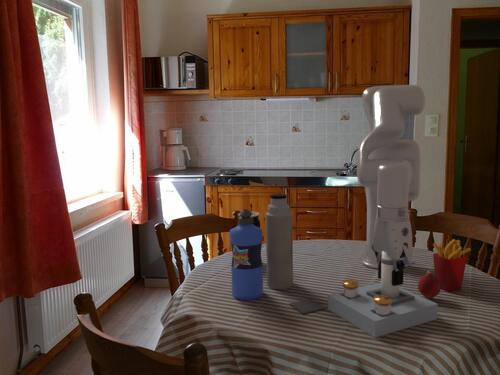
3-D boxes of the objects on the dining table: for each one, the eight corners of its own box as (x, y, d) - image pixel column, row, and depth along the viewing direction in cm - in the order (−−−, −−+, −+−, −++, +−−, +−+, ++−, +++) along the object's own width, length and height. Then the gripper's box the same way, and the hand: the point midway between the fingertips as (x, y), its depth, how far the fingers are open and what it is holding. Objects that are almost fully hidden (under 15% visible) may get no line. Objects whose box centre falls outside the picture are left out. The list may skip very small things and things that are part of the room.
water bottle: (252, 302, 124) (250, 214, 121) (225, 296, 129) (222, 211, 126) (269, 291, 132) (268, 208, 128) (242, 286, 137) (240, 205, 133)
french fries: (430, 285, 134) (432, 236, 132) (452, 281, 137) (454, 233, 134) (453, 296, 126) (455, 244, 123) (476, 292, 128) (478, 241, 126)
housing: (385, 294, 128) (386, 278, 127) (437, 319, 112) (437, 300, 111) (328, 309, 119) (328, 291, 118) (374, 337, 103) (375, 318, 102)
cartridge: (390, 300, 120) (392, 246, 118) (403, 307, 116) (404, 251, 113) (376, 304, 118) (377, 249, 116) (388, 311, 114) (389, 254, 112)
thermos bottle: (294, 280, 141) (293, 192, 137) (291, 290, 133) (290, 196, 129) (269, 279, 142) (267, 192, 138) (265, 288, 135) (263, 196, 131)
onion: (439, 296, 126) (440, 269, 125) (440, 304, 120) (441, 275, 119) (417, 294, 128) (418, 267, 127) (417, 302, 122) (418, 273, 121)
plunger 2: (382, 319, 111) (383, 293, 110) (395, 326, 107) (396, 299, 106) (369, 323, 109) (370, 296, 108) (381, 330, 105) (382, 303, 104)
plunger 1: (351, 302, 121) (351, 278, 120) (361, 308, 117) (362, 283, 116) (339, 306, 119) (339, 281, 118) (349, 311, 116) (349, 286, 115)
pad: (310, 299, 125) (310, 298, 125) (325, 308, 119) (325, 307, 119) (289, 304, 122) (289, 303, 122) (303, 314, 116) (303, 312, 116)
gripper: (428, 217, 107) (425, 290, 110) (382, 204, 122) (380, 268, 125) (403, 221, 104) (401, 295, 107) (359, 207, 119) (358, 273, 122)
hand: (390, 280), depth 116 cm, fingers closed on cartridge, 4 cm apart
